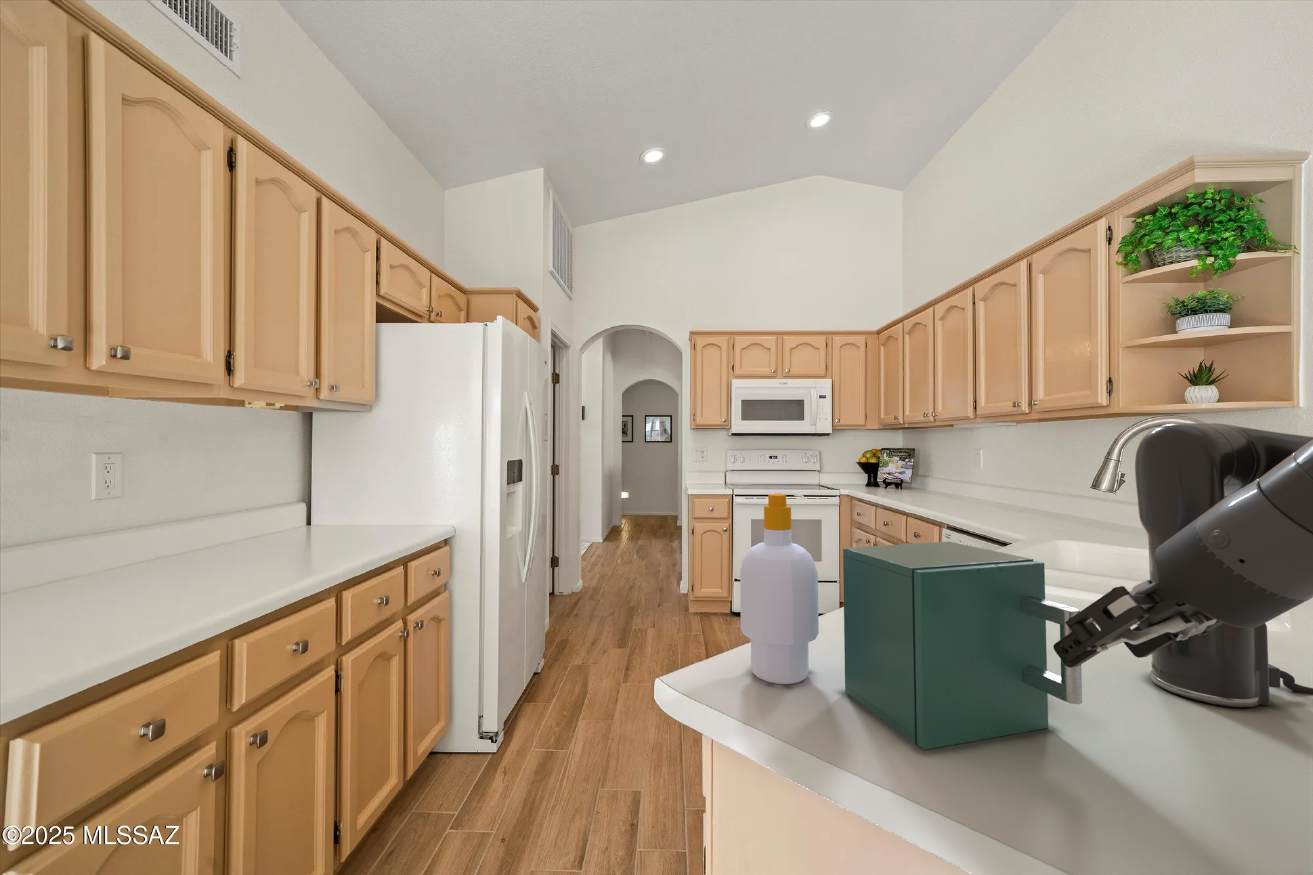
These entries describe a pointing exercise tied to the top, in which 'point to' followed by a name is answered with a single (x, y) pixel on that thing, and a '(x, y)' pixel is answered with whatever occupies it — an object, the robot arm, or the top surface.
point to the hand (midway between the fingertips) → (1097, 652)
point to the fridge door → (986, 653)
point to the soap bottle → (779, 599)
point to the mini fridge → (892, 621)
